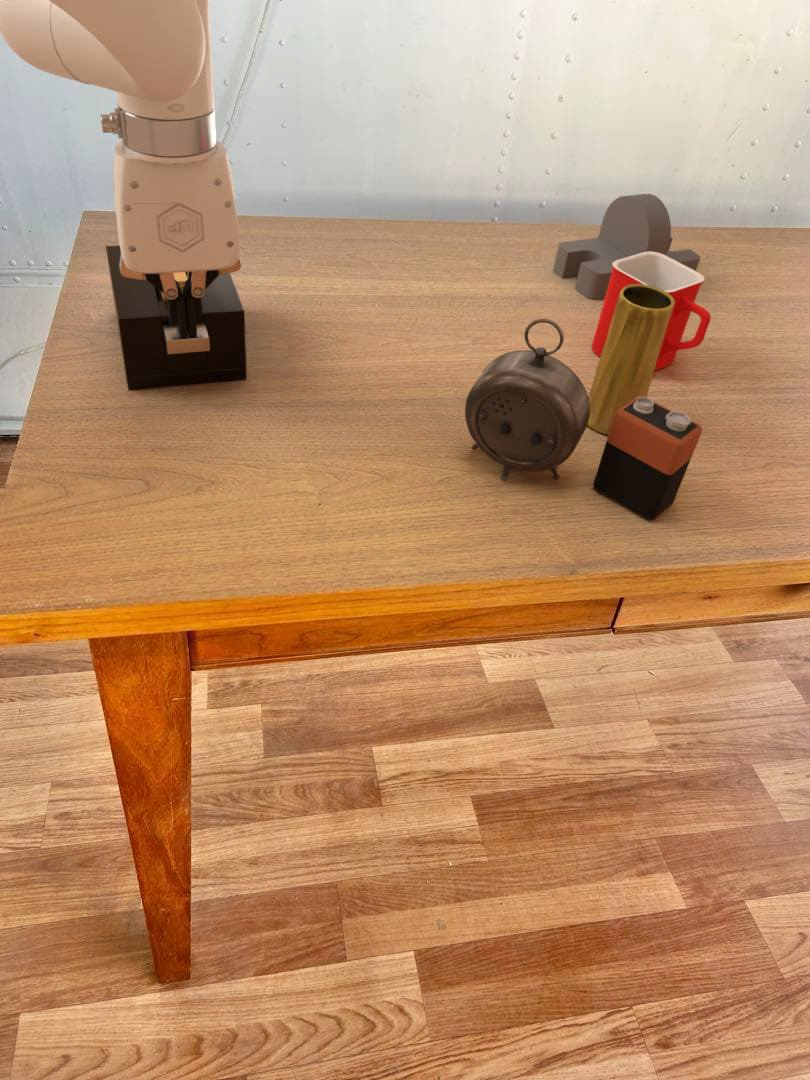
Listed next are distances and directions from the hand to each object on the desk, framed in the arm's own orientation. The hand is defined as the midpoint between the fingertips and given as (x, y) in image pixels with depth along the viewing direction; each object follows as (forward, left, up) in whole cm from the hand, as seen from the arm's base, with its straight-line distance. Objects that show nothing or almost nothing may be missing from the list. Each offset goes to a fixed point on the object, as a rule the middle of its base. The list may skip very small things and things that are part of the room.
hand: (186, 329), depth 83 cm
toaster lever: (0, 0, -2) cm, 2 cm away
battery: (+38, -24, -8) cm, 46 cm away
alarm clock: (+28, -18, -8) cm, 34 cm away
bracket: (+61, +19, -8) cm, 64 cm away
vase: (+42, -12, -8) cm, 44 cm away
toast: (0, +10, -6) cm, 11 cm away
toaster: (0, +10, -7) cm, 12 cm away
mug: (+52, -2, -8) cm, 53 cm away
